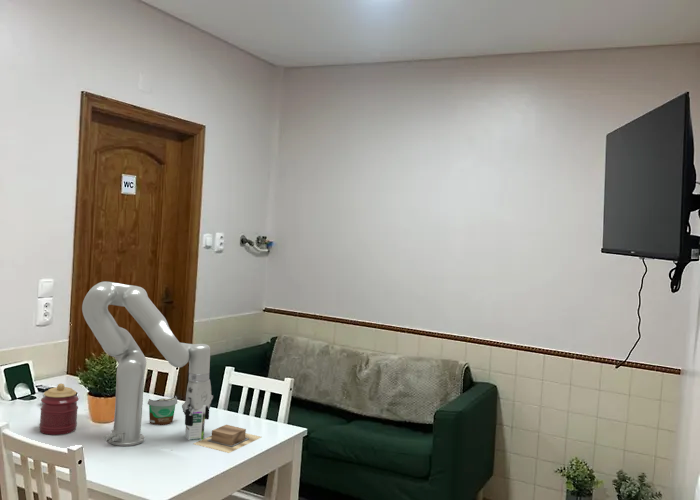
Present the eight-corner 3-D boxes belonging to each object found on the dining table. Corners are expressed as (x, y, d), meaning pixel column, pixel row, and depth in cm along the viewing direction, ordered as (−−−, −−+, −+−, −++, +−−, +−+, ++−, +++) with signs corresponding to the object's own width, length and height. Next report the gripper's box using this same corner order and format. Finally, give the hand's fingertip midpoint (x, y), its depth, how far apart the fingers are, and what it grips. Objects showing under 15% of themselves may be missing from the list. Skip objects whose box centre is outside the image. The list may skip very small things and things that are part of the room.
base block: (231, 446, 236) (232, 435, 236) (211, 441, 240) (212, 430, 240) (245, 439, 244) (245, 429, 244) (225, 434, 248) (226, 424, 248)
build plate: (228, 456, 229) (229, 452, 229) (192, 447, 235) (192, 442, 235) (261, 440, 249) (262, 436, 249) (227, 431, 255) (227, 428, 255)
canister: (31, 429, 240) (34, 383, 240) (62, 422, 251) (65, 377, 251) (52, 438, 234) (55, 389, 233) (83, 430, 245) (86, 384, 244)
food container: (152, 427, 253) (154, 402, 253) (146, 423, 258) (147, 398, 258) (181, 423, 261) (183, 399, 261) (174, 419, 266) (176, 395, 266)
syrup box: (188, 443, 239) (190, 405, 238) (184, 438, 244) (187, 400, 243) (203, 442, 241) (206, 404, 241) (199, 437, 246) (202, 399, 246)
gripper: (192, 383, 232) (190, 430, 233) (220, 374, 248) (218, 418, 249) (175, 380, 236) (173, 426, 236) (204, 371, 251) (203, 414, 252)
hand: (197, 422), depth 242 cm, fingers open, 9 cm apart
